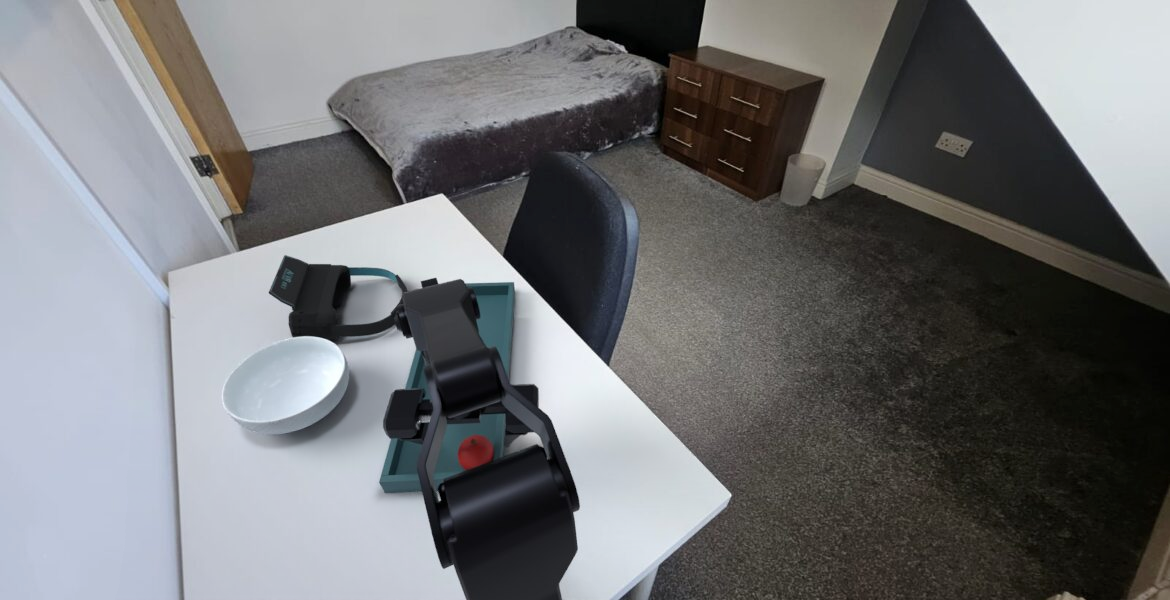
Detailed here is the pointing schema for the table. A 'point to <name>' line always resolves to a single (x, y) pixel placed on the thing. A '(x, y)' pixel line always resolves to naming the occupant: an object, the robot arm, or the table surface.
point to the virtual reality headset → (324, 298)
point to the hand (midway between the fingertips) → (473, 445)
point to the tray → (405, 454)
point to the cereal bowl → (286, 385)
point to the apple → (475, 452)
